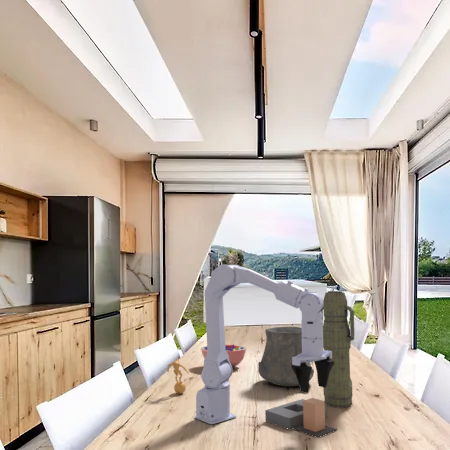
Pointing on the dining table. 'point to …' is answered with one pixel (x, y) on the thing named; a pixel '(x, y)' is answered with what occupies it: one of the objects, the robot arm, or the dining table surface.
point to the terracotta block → (314, 414)
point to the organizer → (287, 414)
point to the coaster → (318, 433)
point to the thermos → (338, 348)
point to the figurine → (179, 386)
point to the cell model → (231, 353)
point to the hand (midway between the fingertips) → (313, 389)
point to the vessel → (281, 355)
